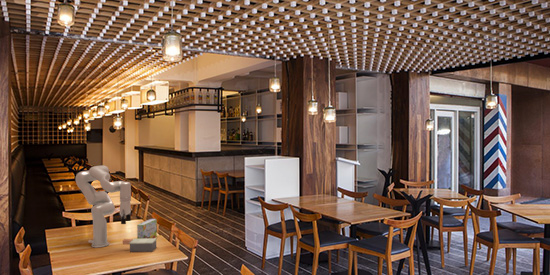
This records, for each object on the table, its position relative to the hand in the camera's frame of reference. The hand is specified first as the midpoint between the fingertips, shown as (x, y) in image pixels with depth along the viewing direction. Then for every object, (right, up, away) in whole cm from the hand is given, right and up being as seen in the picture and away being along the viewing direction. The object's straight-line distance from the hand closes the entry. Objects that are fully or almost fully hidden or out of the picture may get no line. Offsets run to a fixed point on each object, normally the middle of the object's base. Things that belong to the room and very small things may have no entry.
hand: (125, 222), depth 290 cm
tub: (+13, -20, 0) cm, 24 cm away
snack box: (+8, -20, +25) cm, 33 cm away
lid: (+10, -15, 0) cm, 18 cm away
